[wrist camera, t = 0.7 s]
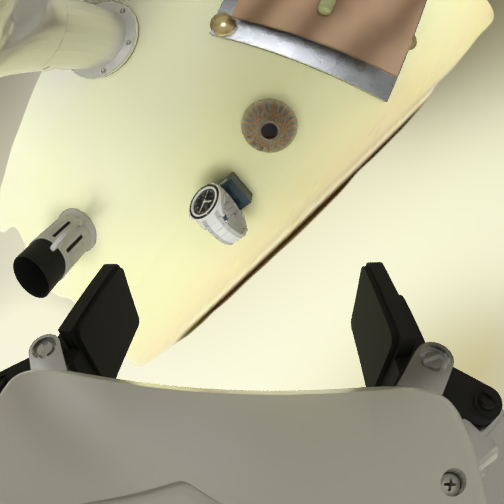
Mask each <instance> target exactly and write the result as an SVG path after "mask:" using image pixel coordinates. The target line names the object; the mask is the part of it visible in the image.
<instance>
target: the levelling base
mask: <svg viewBox="0 0 504 504" xmlns="http://www.w3.org/2000/svg"><path fill="white" fill-rule="evenodd" d="M237 1H238V0H223V2H222V5H221V7H220V9H219V12H218V14H217V15H215V16H214V17H213V18H212V19H211V22H210V26H211V31H210V34H211V35H214V36H218V37H222V38H226V39H230V40H233V41H237V42H240V43H244V44H247V45H250V46H254V47H257V48H260V49H263V50H266V51H269V52H272V53H275V54H278V55H281V56H284V57H286V58H289V59H292V60H294V61H297V62H300V63H302V64H305V65H307V66H310V67H312V68H315V69H317V70H319V71H322V72H324V73H326V74H329V75H331V76H333V77H335V78H338V79H340V80H342V81H344V82H346V83H348V84H351V85H353V86H355V87H357V88H359V89H361V90H363V91H365V92H367V93H369V94H371V95H373V96H374V97H376V98H378V99H380V100H382V101H384V102H387V101H388V99H389V96H390V94H391V92H392V89H393V87H394V85H395V82H396V80H397V77H398V75H399V73H400V70H401V68H402V65H403V63H404V60H405V58H406V55H407V53H408V50H411V49H413V48H415V46H416V43H417V41H416V37H415V35H413V37H412V40H411V43H410V45H409V48H408V50H407V53H406V55H405V58H404V60H403V63H402V65H401V68H400V70H399V73H398V75H397V76H396V77H394V76H392V75H390V74H388V73H386V72H384V71H382V70H380V69H378V68H376V67H374V66H372V65H370V64H367V63H365V62H363V61H361V60H359V59H356V58H354V57H352V56H350V55H347V54H345V53H343V52H340V51H338V50H335V49H333V48H330V47H328V46H325V45H322V44H320V43H317V42H314V41H311V40H309V39H306V38H303V37H300V36H297V35H294V34H291V33H288V32H284V31H281V30H278V29H274V28H271V27H267V26H264V25H260V24H256V23H252V22H248V21H244V20H240V19H235V18H233V17H232V16H231V15H232V12H233V10H234V8H235V5H236V3H237ZM426 1H427V0H426ZM425 4H426V2H425ZM424 7H425V5H424ZM423 10H424V8H423ZM423 10H422V13H423ZM422 13H421V15H422ZM420 18H421V16H420ZM419 21H420V19H419ZM419 21H418V24H419ZM418 24H417V26H418ZM416 29H417V27H416ZM416 29H415V32H416ZM415 32H414V34H415Z"/></svg>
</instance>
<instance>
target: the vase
mask: <svg viewBox="0 0 504 504" xmlns="http://www.w3.org/2000/svg"><path fill="white" fill-rule="evenodd" d="M241 128H242V133H243V136H244V138H245V139H246V141H247V142H248V143H249V144H250V145H251V146H252V147H253V148H255V149H257V150H259V151H262V152H267V153H272V152H278V151H280V150H283V149H284V148H286V147H287V146H289V145H290V144H291V142H292V141H293V139H294V138H295V135H296V132H297V120H296V117H295V114H294V113H293V111H292V110H291V108H290V107H289V106H287V105H286V104H285V103H283V102H281V101H279V100H275V99H263V100H260V101H257V102H255V103H253V104H252V105H251V106H250V107H249V108H248V109H247V110H246V112H245V113H244V115H243V118H242V123H241Z"/></svg>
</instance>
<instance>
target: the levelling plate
mask: <svg viewBox="0 0 504 504" xmlns="http://www.w3.org/2000/svg"><path fill="white" fill-rule="evenodd" d="M425 2H426V0H238V1H237V3H236V5H235V8H234V10H233V12H232V15H231V16H232V17H233V18H235V19H240V20H244V21H248V22H252V23H256V24H260V25H264V26H267V27H271V28H274V29H278V30H281V31H284V32H288V33H291V34H294V35H297V36H300V37H303V38H306V39H309V40H311V41H314V42H317V43H320V44H322V45H325V46H328V47H330V48H333V49H335V50H338V51H340V52H343V53H345V54H347V55H350V56H352V57H354V58H356V59H359V60H361V61H363V62H365V63H367V64H370V65H372V66H374V67H376V68H378V69H380V70H382V71H384V72H386V73H388V74H390V75H392V76H394V77H396V76H397V75H398V73H399V70H400V68H401V65H402V63H403V60H404V58H405V55H406V53H407V50H408V48H409V45H410V43H411V40H412V37H413V35H414V32H415V29H416V27H417V24H418V21H419V19H420V16H421V13H422V10H423V8H424V5H425Z"/></svg>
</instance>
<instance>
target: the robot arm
mask: <svg viewBox="0 0 504 504" xmlns="http://www.w3.org/2000/svg"><path fill="white" fill-rule="evenodd" d="M124 12H125V13H124ZM137 38H138V23H137V19H136V17H135V14H134V13H133V12H132V10H131V9H130V8H128V7H127V6H126V5H123V4H121V3H118V2H115V1H105V2H100V3H97V4H94V5H93V4H90V3H87V2H83V1H80V0H0V77H3V76H7V75H13V74H20V73H27V72H36V71H48V70H63V69H71V70H72V71H73V72H74V73H75V74H77V75H79V76H81V77H84V78H101V77H104V76H107V75H109V74H111V73H113V72H115V71H116V70H118V69H119V68H120V67H121V66H122V65H123V64H124V63H125V62H126V61H127V60H128V58H129V57H130V55H131V54H132V52H133V50H134V48H135V45H136V42H137ZM130 42H131V44H130ZM105 70H106V72H105ZM138 325H139V317H138V314H137V311H136V308H135V305H134V302H133V299H132V296H131V293H130V290H129V286H128V283H127V280H126V277H125V273H124V270H123V269H122V268H120V266H119V265H118V264H104V265H103V267H102V268H101V269H100V271H99V272H98V273H97V275H96V276H95V277H94V279H93V280H92V281H91V283H90V284H89V286H88V287H87V288H86V290H85V291H84V293H83V294H82V295H81V297H80V298H79V300H78V301H77V303H76V304H75V305H74V307H73V308H72V310H71V311H70V313H69V314H68V316H67V317H66V319H65V320H64V322H63V323H62V325H61V326H60V328H59V329H58V331H59V333H60V334H59V336H58V337H57V336H56V335H52V334H47V335H43V336H41V337H39V338H37V339H36V340H35V341H34V342H33V343H32V345H31V346H30V349H29V358H27V359H25V360H24V361H21V362H19V363H17V364H15V365H13V366H11V367H10V368H7V369H5V370H3V371H1V372H0V504H504V410H503V409H502V400H501V397H500V395H499V394H498V392H497V391H496V390H494V389H493V388H491V387H490V386H488V385H486V384H484V383H482V382H480V381H478V380H476V379H475V378H473V377H471V376H469V375H467V374H465V373H463V372H462V371H460V370H458V369H456V368H454V367H453V364H454V359H453V356H452V354H451V352H450V351H449V350H448V349H447V348H446V347H445V346H443V345H441V344H439V343H436V342H426V343H425V341H424V339H423V336H422V334H421V332H420V330H419V328H418V326H417V323H416V321H415V319H414V317H413V315H412V313H411V311H410V309H409V307H408V305H407V303H406V301H405V299H404V297H403V296H402V295H399V294H398V292H397V290H396V288H395V286H394V285H393V283H392V281H391V279H390V277H389V275H388V273H387V271H386V269H385V267H384V265H383V264H382V263H381V262H374V263H373V262H372V263H371V262H370V263H367V264H366V266H365V267H364V266H363V267H362V268H361V273H360V279H359V284H358V290H357V294H356V299H355V305H354V309H353V314H352V319H351V327H352V331H353V335H354V339H355V343H356V347H357V351H358V355H359V359H360V363H361V367H362V372H363V376H364V380H365V385H366V387H362V388H348V389H331V390H305V391H243V390H219V389H202V388H189V387H178V386H168V385H159V384H150V383H142V382H134V381H127V380H120V379H116V377H117V374H118V372H119V369H120V367H121V365H122V362H123V360H124V357H125V355H126V353H127V351H128V348H129V346H130V344H131V341H132V339H133V337H134V335H135V332H136V330H137V328H138Z"/></svg>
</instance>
